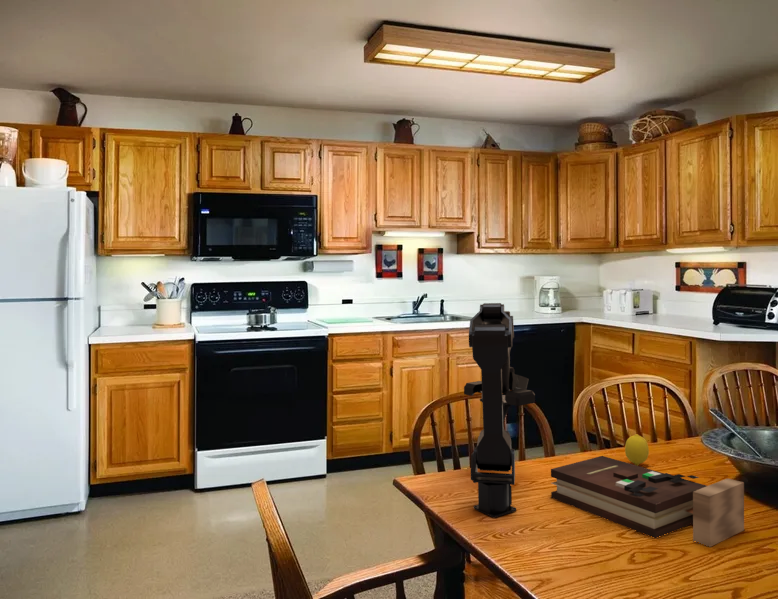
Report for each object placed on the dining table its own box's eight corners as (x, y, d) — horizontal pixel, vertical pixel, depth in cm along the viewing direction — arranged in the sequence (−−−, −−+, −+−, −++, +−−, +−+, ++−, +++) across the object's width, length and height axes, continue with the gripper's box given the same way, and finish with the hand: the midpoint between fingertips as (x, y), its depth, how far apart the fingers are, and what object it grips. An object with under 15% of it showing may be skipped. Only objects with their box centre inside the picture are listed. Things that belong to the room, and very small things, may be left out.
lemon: (650, 464, 154) (650, 433, 153) (646, 470, 149) (646, 438, 149) (627, 461, 156) (627, 430, 156) (623, 466, 152) (622, 435, 152)
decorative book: (597, 449, 143) (723, 483, 118) (597, 480, 143) (723, 522, 118) (538, 463, 133) (663, 505, 107) (539, 497, 133) (663, 547, 108)
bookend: (709, 547, 106) (709, 496, 106) (693, 541, 109) (692, 491, 109) (744, 530, 113) (743, 482, 113) (727, 524, 116) (727, 478, 115)
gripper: (551, 364, 141) (551, 430, 142) (494, 356, 157) (495, 416, 157) (517, 369, 135) (518, 438, 135) (462, 360, 150) (463, 423, 151)
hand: (498, 428), depth 145 cm, fingers closed
